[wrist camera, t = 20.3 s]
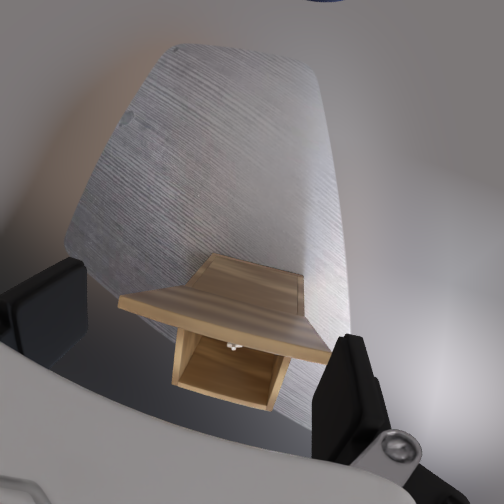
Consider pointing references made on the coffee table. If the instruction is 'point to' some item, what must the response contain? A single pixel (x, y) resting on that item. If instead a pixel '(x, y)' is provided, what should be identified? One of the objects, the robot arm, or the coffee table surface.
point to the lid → (230, 321)
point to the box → (243, 358)
